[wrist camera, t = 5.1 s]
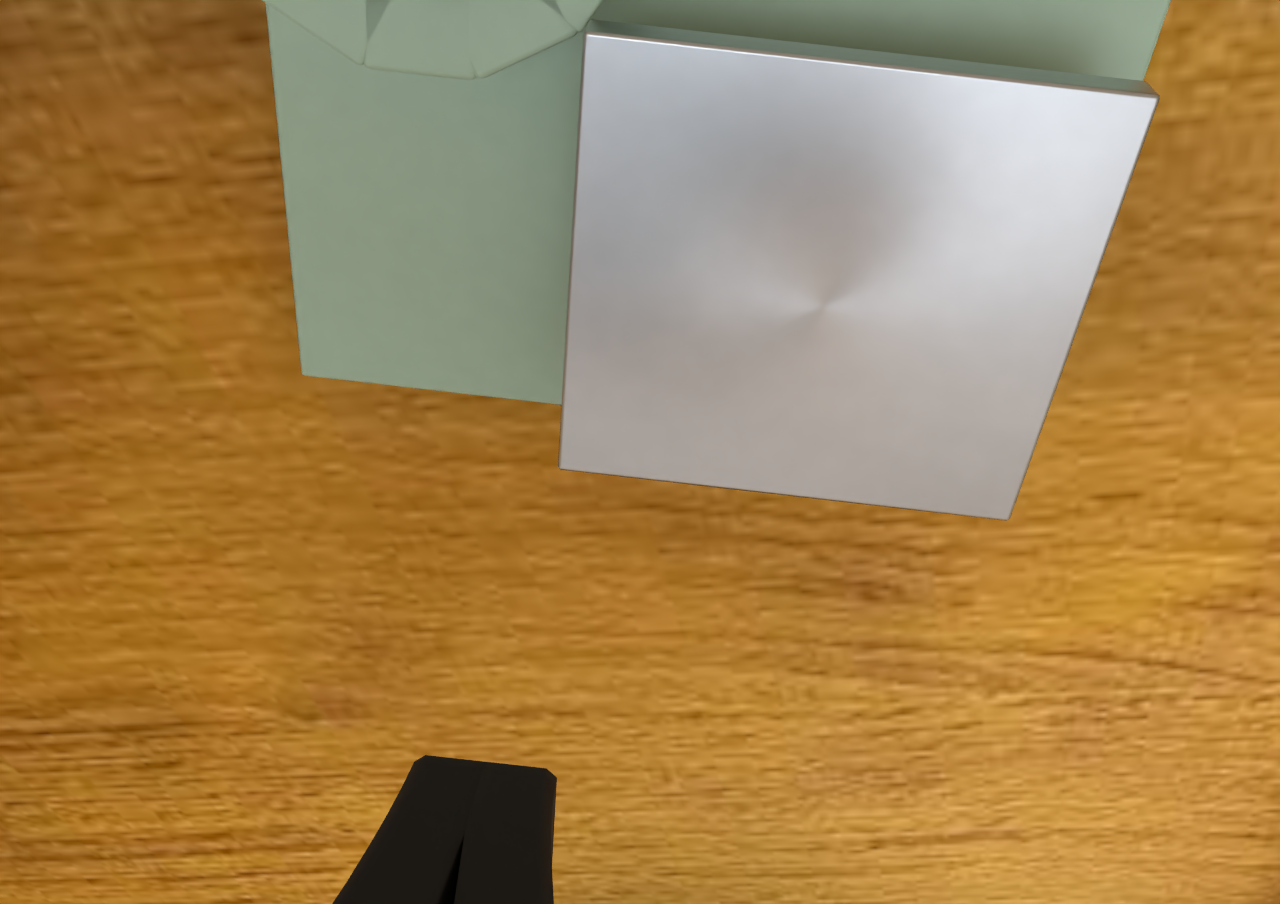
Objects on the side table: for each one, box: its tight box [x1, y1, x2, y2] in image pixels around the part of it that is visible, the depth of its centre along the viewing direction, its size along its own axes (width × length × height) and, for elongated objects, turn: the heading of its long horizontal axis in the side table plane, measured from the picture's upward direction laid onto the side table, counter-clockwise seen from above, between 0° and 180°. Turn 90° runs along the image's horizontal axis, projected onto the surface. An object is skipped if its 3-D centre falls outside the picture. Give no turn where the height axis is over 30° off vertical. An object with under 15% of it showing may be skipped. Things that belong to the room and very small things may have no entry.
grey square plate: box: [558, 19, 1159, 520], centre depth 15 cm, size 7×6×1 cm
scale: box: [262, 0, 1171, 405], centre depth 15 cm, size 12×11×2 cm
